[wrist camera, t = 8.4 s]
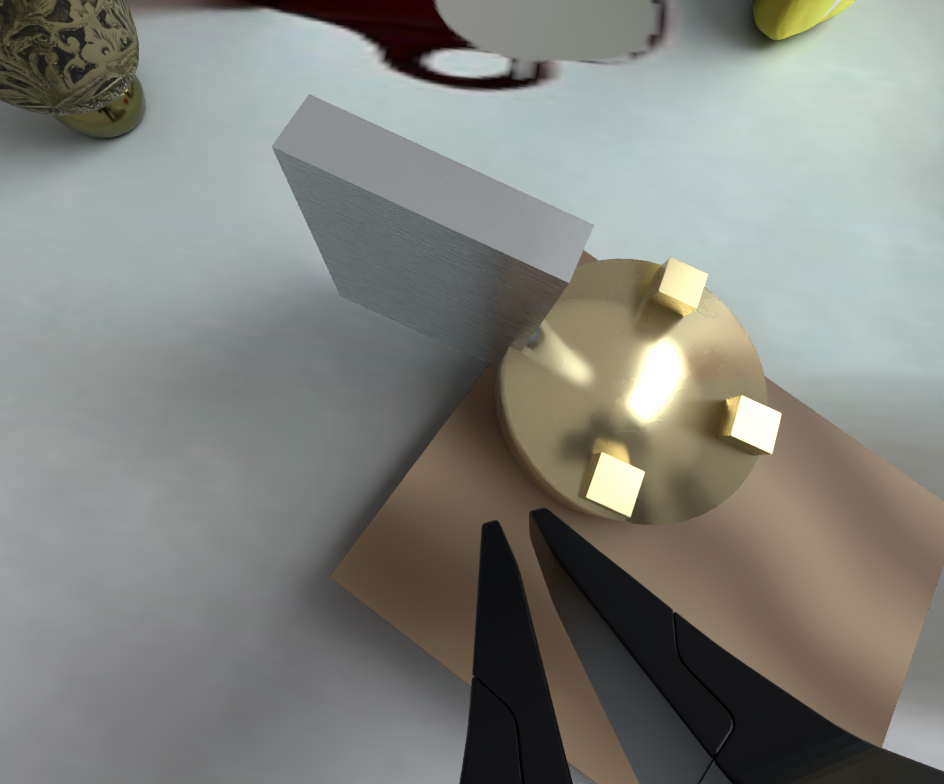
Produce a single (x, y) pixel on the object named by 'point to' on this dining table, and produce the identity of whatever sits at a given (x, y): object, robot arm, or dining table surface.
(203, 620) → the dining table surface
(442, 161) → the ring nut spanner
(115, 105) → the cup
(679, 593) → the walnut base
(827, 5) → the bottle
